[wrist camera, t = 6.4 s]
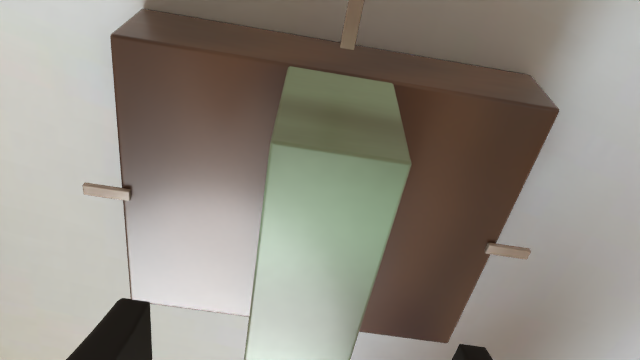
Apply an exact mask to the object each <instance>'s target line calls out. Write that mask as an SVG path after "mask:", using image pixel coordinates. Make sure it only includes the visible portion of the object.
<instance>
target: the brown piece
mask: <svg viewBox="0 0 640 360" xmlns="http://www.w3.org/2000/svg"><path fill="white" fill-rule="evenodd" d="M363 4H364V0H348V6H347V11H346V16H345V22H344V27H343V32H342V37H341V43H340V42H334V41H328V40H322V39H316V38H310V37H305V36H299V35H293V34H287V33H281V32H275V31H270V30H264V29H258V28H252V27H246V26H240V25H234V24H229V23H223V22H217V21H211V20H205V19H199V18H194V17H188V16H182V15H176V14H170V13H164V12H159V11H153V10H147V9H142V10H140V11H139V12H138V13H137V14H135V15H134V16H133V17H132V18H130V19H129V20H128V21H127V22H126V23H124V24H123V25H122V26H121V27H119V28H118V29H117V30H116V31H114V32H113V33H112V34H111V36H110V37H111V50H112V63H113V76H114V89H115V102H116V114H117V127H118V140H119V153H120V166H121V178H122V188H118V187H112V186H105V185H98V184H91V183H84V184H83V192H84V195H91V196H98V197H105V198H111V199H118V200H123V204H124V217H125V230H126V243H127V255H128V268H129V281H130V294H131V299H132V300H140V301H147V302H150V304H158V305H165V306H173V307H180V308H188V309H195V310H202V311H210V312H217V313H225V314H232V315H240V316H247V317H249V315H250V307H251V298H252V290H253V282H254V273H255V265H256V257H257V248H258V240H259V232H260V223H261V215H262V207H263V198H264V190H265V182H266V173H267V165H268V157H269V148H270V141H271V137H272V133H273V129H274V124H275V120H276V116H277V112H278V107H279V103H280V99H281V95H282V90H283V86H284V82H285V78H286V74H287V69H288V67H290V66H291V67H298V68H304V69H310V70H316V71H322V72H328V73H334V74H340V75H346V76H352V77H358V78H364V79H370V80H376V81H382V82H388V83H392V84H393V85H394V89H395V93H396V98H397V102H398V107H399V111H400V115H401V120H402V124H403V128H404V133H405V137H406V142H407V146H408V150H409V155H410V159H411V164H412V165H411V168H410V171H409V174H408V178H407V181H406V184H405V187H404V190H403V193H402V197H401V200H400V203H399V206H398V209H397V213H396V216H395V219H394V222H393V225H392V228H391V232H390V235H389V238H388V241H387V244H386V247H385V251H384V254H383V257H382V260H381V263H380V266H379V270H378V273H377V276H376V279H375V282H374V286H373V289H372V292H371V295H370V298H369V301H368V305H367V308H366V311H365V314H364V317H363V320H362V324H361V327H360V330H359V332H366V333H374V334H381V335H388V336H396V337H403V338H411V339H418V340H426V341H433V342H440V343H448V342H449V339H450V337H451V335H452V333H453V331H454V329H455V327H456V325H457V323H458V321H459V319H460V317H461V315H462V312H463V310H464V308H465V306H466V304H467V302H468V300H469V298H470V296H471V294H472V292H473V290H474V287H475V285H476V283H477V281H478V279H479V277H480V275H481V273H482V271H483V269H484V267H485V265H486V263H487V260H488V258H489V256H490V254H493V255H500V256H506V257H513V258H520V259H527V258H528V256H529V255H530V253H531V250H530V249H529V248H523V247H516V246H509V245H502V244H496V242H497V240H498V238H499V236H500V233H501V231H502V229H503V227H504V225H505V223H506V221H507V219H508V217H509V215H510V213H511V211H512V209H513V206H514V204H515V202H516V200H517V198H518V196H519V194H520V192H521V190H522V188H523V186H524V184H525V181H526V179H527V177H528V175H529V173H530V171H531V169H532V167H533V165H534V163H535V161H536V159H537V157H538V154H539V152H540V150H541V148H542V146H543V144H544V142H545V140H546V138H547V136H548V134H549V132H550V130H551V127H552V125H553V123H554V121H555V119H556V117H557V115H558V113H559V108H558V107H557V106H556V105H555V104H554V103H553V101H552V100H551V99H550V98H549V97H548V95H547V94H546V93H545V92H544V91H543V89H542V88H541V87H540V86H539V85H538V84H537V82H536V81H535V80H534V79H533V78H532V76H530V75H526V74H521V73H515V72H509V71H503V70H497V69H491V68H486V67H480V66H474V65H468V64H462V63H456V62H451V61H445V60H439V59H433V58H427V57H421V56H416V55H410V54H404V53H398V52H392V51H386V50H380V49H375V48H369V47H363V46H357V45H355V43H356V38H357V33H358V28H359V23H360V19H361V14H362V9H363Z"/></svg>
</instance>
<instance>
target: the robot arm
mask: <svg viewBox="0 0 640 360" xmlns="http://www.w3.org/2000/svg"><path fill="white" fill-rule="evenodd" d="M66 360H152V344H151V321H150V302H147V301H140V300H132V299H125V298H122V299H120V300H118V301H117V302H116V304H115V305H114V306H113V307H112V308H111V310H110V311H109V312H108V313H107V315H106V316H105V317H104V318H103V319H102V320H101V322H100V323H99V324H98V325H97V326H96V327H95V329H94V330H93V331H92V332H91V333H90V334H89V335H88V336H87V338H86V339H85V340H84V341H83V342H82V343H81V344H80V345H79V346H78V348H77V349H76V350H75V351H74V352H73V353H72V354H71V355H70V356H69V357H68V358H67V359H66ZM452 360H493V359H492V358H491V356H490V354H489V353H488V351H487V350H486V348H485V347H478V346H470V345H463V344H459V346H458V348H457V350H456V352H455V354H454V356H453V358H452Z"/></svg>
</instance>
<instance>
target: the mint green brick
mask: <svg viewBox="0 0 640 360" xmlns="http://www.w3.org/2000/svg"><path fill="white" fill-rule="evenodd" d="M411 165H412V164H411V159H410V155H409V150H408V146H407V142H406V137H405V133H404V128H403V124H402V120H401V115H400V111H399V107H398V102H397V98H396V93H395V89H394V85H393V84H392V83H388V82H382V81H376V80H370V79H364V78H358V77H352V76H346V75H340V74H334V73H328V72H322V71H316V70H310V69H304V68H298V67H291V66H290V67H288V69H287V74H286V78H285V82H284V86H283V90H282V95H281V99H280V103H279V107H278V112H277V116H276V120H275V124H274V129H273V133H272V137H271V141H270V148H269V157H268V165H267V173H266V182H265V190H264V198H263V207H262V215H261V223H260V232H259V240H258V248H257V257H256V265H255V273H254V282H253V290H252V298H251V307H250V315H249V323H248V332H247V340H246V348H245V357H244V360H350V359H351V355H352V352H353V349H354V346H355V343H356V340H357V336H358V333H359V330H360V327H361V324H362V320H363V317H364V314H365V311H366V308H367V305H368V301H369V298H370V295H371V292H372V289H373V286H374V282H375V279H376V276H377V273H378V270H379V266H380V263H381V260H382V257H383V254H384V251H385V247H386V244H387V241H388V238H389V235H390V232H391V228H392V225H393V222H394V219H395V216H396V213H397V209H398V206H399V203H400V200H401V197H402V193H403V190H404V187H405V184H406V181H407V178H408V174H409V171H410V168H411Z"/></svg>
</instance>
